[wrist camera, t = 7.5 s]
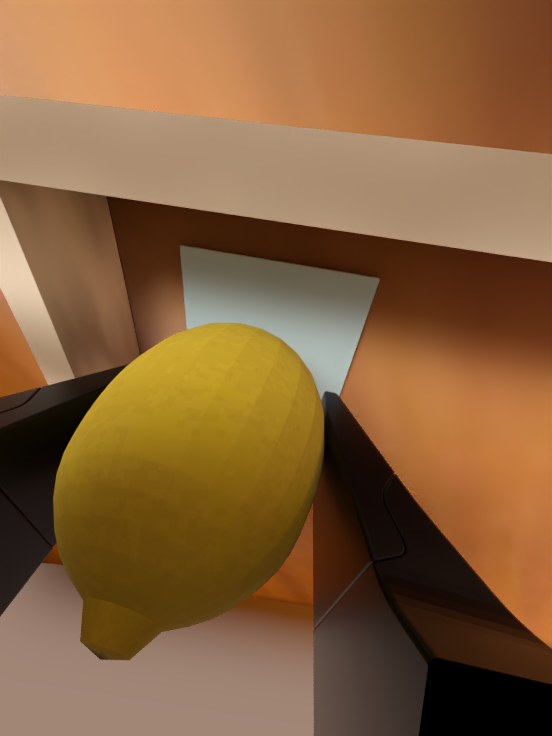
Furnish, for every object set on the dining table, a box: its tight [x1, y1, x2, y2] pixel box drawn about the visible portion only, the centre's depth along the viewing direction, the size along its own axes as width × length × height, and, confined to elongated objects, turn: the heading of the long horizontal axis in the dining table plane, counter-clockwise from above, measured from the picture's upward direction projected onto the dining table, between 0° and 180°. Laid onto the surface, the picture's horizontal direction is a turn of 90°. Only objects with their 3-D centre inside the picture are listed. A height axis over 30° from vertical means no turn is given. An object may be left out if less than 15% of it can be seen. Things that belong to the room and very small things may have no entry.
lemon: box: [53, 323, 324, 660], centre depth 6 cm, size 6×6×8 cm
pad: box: [180, 245, 380, 400], centre depth 11 cm, size 8×8×1 cm
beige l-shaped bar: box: [0, 95, 552, 385], centre depth 9 cm, size 14×21×4 cm
